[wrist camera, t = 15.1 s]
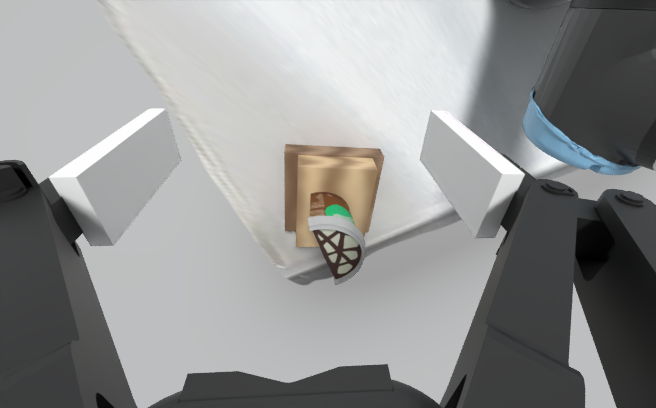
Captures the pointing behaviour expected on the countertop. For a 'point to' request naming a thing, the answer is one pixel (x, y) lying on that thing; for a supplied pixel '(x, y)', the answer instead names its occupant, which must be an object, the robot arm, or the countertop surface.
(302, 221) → the tower top
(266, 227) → the countertop surface
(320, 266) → the countertop surface
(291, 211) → the tower base
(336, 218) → the food container
